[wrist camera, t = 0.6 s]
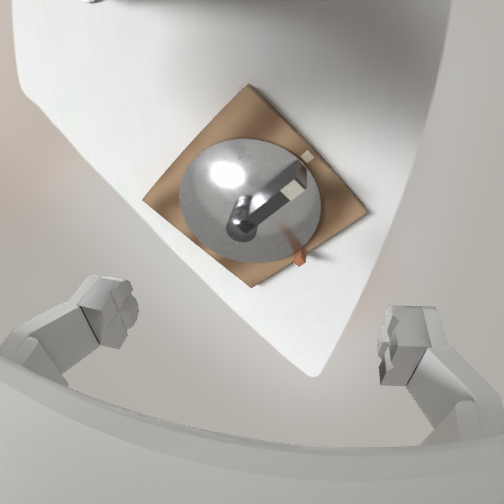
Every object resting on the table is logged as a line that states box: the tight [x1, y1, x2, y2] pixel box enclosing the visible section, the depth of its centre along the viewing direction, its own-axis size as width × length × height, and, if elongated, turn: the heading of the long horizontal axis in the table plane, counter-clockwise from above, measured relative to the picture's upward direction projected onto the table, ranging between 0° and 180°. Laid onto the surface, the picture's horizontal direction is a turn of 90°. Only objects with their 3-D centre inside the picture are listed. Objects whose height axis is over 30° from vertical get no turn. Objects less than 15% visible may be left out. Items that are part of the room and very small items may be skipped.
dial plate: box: [142, 84, 367, 288], centre depth 42 cm, size 22×22×4 cm
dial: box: [179, 137, 321, 263], centre depth 40 cm, size 19×19×6 cm
